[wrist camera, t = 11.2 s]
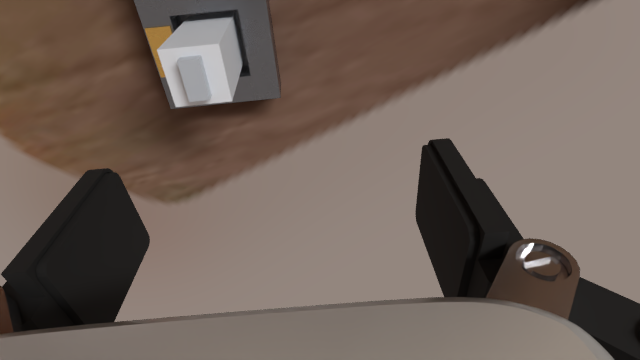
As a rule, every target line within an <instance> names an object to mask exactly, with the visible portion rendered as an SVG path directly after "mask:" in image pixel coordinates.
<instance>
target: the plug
mask: <svg viewBox="0 0 640 360" xmlns="http://www.w3.org/2000/svg"><path fill="white" fill-rule="evenodd" d="M157 52H158V55H159V58H160V61H161V64H162V67H163V70H164V73H165V76H166V79H167V82H168V85H169V88H170V91H171V94H172V97H173V101H174V104H175V107H183V106H193V105H203V104H212V103H222V102H232V100H233V97H234V93H235V90H236V86H237V83H238V79H239V76H240V72H241V69H242V65H243V62H244V58H245V57H244V52H243V47H242V41H241V36H240V31H239V26H238V21H237V16H236V11H235V12H225V13H214V14H204V15H194V16H189V17H188V18H187V19H186V20H185V21H184V22H183V23H182V24H181V25H180V26H179V27H178V28H177V29H176V30H175V31H174V32H173V34H172V35H171V36H170V37H169V38H168V39H167V40H166V41H165V42H164V43H163V44H162V45H161V46H160V47H159V48H158V49H157Z"/></svg>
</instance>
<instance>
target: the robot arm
mask: <svg viewBox="0 0 640 360" xmlns="http://www.w3.org/2000/svg"><path fill="white" fill-rule="evenodd" d="M416 221H417V224H418V227H419V230H420V233H421V235H422V238H423V240H424V243H425V246H426V249H427V251H428V254H429V257H430V259H431V262H432V265H433V268H434V271H435V273H436V276H437V279H438V281H439V284H440V287H441V289H442V292H443V295H444V297H438V298H437V297H436V298H416V299H400V300H384V301H368V302H355V303H343V304H329V305H316V306H303V307H291V308H278V309H265V310H253V311H240V312H227V313H217V314H216V313H215V314H203V315H191V316H180V317H167V318H157V319H146V320H145V319H144V320H133V321H122V322H114V321H115V319H116V316H117V314H118V312H119V310H120V308H121V305H122V303H123V301H124V299H125V297H126V294H127V292H128V290H129V288H130V286H131V284H132V282H133V279H134V277H135V275H136V273H137V270H138V268H139V266H140V264H141V262H142V260H143V257H144V255H145V253H146V251H147V249H148V246H149V242H150V239H149V235H148V232H147V230H146V228H145V226H144V224H143V222H142V220H141V218H140V216H139V214H138V212H137V210H136V208H135V206H134V204H133V202H132V200H131V198H130V196H129V194H128V192H127V190H126V188H125V186H124V184H123V182H122V180H121V178H120V176H119V175H118V174H117V173H115V172H113V171H112V170H111V169H108V168H106V169H95V170H88V171H87V172H85V174H84V175H83V176H82V177H81V178H80V180H79V181H78V182H77V183H76V184H75V186H74V187H73V188H72V189H71V191H70V192H69V193H68V194H67V195H66V197H65V198H64V199H63V200H62V201H61V202H60V204H59V205H58V206H57V207H56V208H55V210H54V211H53V212H52V213H51V214H50V216H49V217H48V218H47V219H46V220H45V222H44V223H43V224H42V225H41V227H40V228H39V229H38V230H37V231H36V233H35V234H34V235H33V236H32V237H31V239H30V240H29V241H28V242H27V243H26V245H25V246H24V247H23V248H22V249H21V251H20V252H19V253H18V254H17V255H16V257H15V258H14V259H13V260H12V261H11V263H10V264H9V265H8V266H7V268H6V269H5V270H4V271H3V272H2V274H1V275H2V276H3V277H4V278H5V279H6V280H7V282H6V283H5V284H4V285H3V287H1V286H0V360H640V304H639V303H637V302H635V301H632V300H630V299H628V298H626V297H623V296H621V295H619V294H617V293H614V292H612V291H610V290H608V289H605V288H603V287H601V286H598V285H596V284H594V283H592V282H590V281H587V280H585V279H583V278H581V277H580V267H579V265H578V263H577V261H576V260H575V258H574V257H573V256H572V255H571V254H570V253H569V252H567V251H566V250H565V249H563V248H562V247H560V246H558V245H556V244H554V243H551V242H548V241H545V240H541V239H530V238H529V239H523V237H522V236H521V234H520V233H519V231H518V230H517V229H516V227H515V226H514V224H513V223H512V221H511V220H510V218H509V217H508V215H507V214H506V212H505V211H504V210H503V208H502V206H501V205H500V203H499V202H498V201H497V199H496V198H495V196H494V195H493V193H492V192H491V190H490V189H489V187H488V186H487V184H486V183H485V182H484V181H483V179H480V178H478V179H476V178H475V176H474V175H473V173H472V172H471V170H470V169H469V167H468V166H467V164H466V163H465V161H464V160H463V158H462V156H461V155H460V153H459V152H458V150H457V149H456V147H455V146H454V144H453V143H452V141H451V140H450V139H436V140H430V141H429V143H428V145H424V146H423V147H422V154H421V165H420V174H419V184H418V194H417V204H416Z"/></svg>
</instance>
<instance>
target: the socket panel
mask: <svg viewBox="0 0 640 360" xmlns="http://www.w3.org/2000/svg"><path fill="white" fill-rule="evenodd" d="M134 3H135V5H136V8H137V11H138V14H139V17H140V20H141V23H142V26H143V29H144V32H145V35H146V38H147V41H148V43H149V46H150V49H151V52H152V55H153V58H154V61H155V64H156V67H157V70H158V73H159V76H160V79H161V82H162V84H163V87H164V90H165V93H166V96H167V99H168V102H169V105H170V108H171V109H177V108H186V107H196V106H206V105H215V104H225V103H235V102H244V101H254V100H264V99H273V98H280V97H281V82H280V75H279V68H278V61H277V54H276V47H275V40H274V33H273V26H272V20H271V13H270V6H269V0H134ZM235 11H236V16H237V21H238V26H239V31H240V36H241V41H242V47H243V52H244V57H245V58H244V62H243V65H242V69H241V72H240V76H239V79H238V83H237V86H236V90H235V93H234V97H233V100H232V102H222V103H212V104H203V105H193V106H183V107H175V104H174V101H173V97H172V94H171V91H170V88H169V85H168V82H167V79H166V76H165V73H164V70H163V67H162V64H161V61H160V58H159V55H158V52H157V49H158V48H159V47H160V46H161V45H162V44H163V43H164V42H165V41H166V40H167V39H168V38H169V37H170V36H171V35H172V34H173V32H174V31H175V30H176V29H177V28H178V27H179V26H180V25H181V24H182V23H183V22H184V21H185V20H186V19H187V18H188V17H189V16H194V15H204V14H214V13H225V12H235Z"/></svg>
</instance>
